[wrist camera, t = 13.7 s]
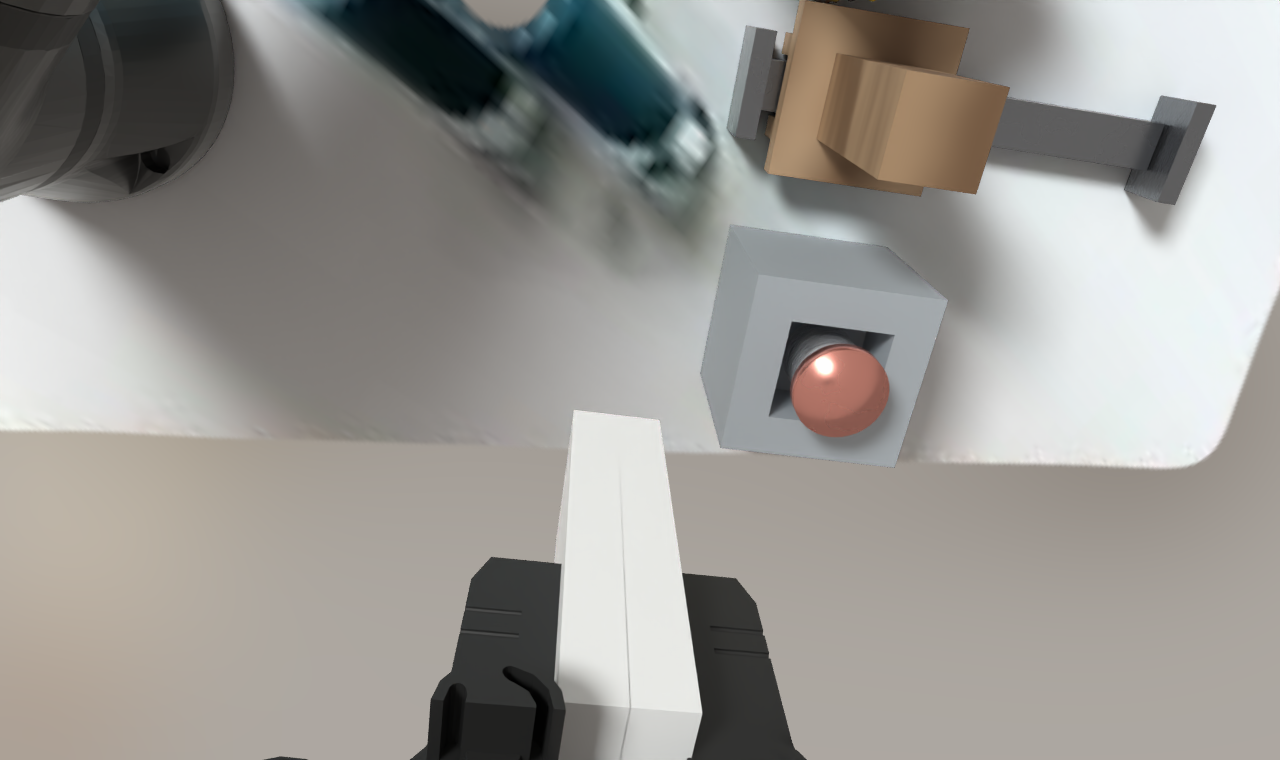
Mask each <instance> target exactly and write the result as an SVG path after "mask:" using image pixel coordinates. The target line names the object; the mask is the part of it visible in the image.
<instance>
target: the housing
mask: <svg viewBox="0 0 1280 760" xmlns="http://www.w3.org/2000/svg"><path fill="white" fill-rule="evenodd" d="M947 303H948V300H947V299H946V298H945V297H944V296H943V295H941V294H940V293H939V292H938V291H937V290H936V289H935V288H933V287H932V286H931V285H930V284H929V283H928V282H927V281H925V280H924V279H923V278H922V277H921V276H920V275H919V274H917V273H916V272H915V271H914V270H913V269H912V268H911V267H909V266H908V265H907V264H906V263H905V262H904V261H903V260H901V259H900V258H899V257H898V256H897V255H896V254H895V253H893V252H892V251H891V250H890V249H889V248H888V247H882V246H875V245H868V244H861V243H854V242H847V241H840V240H833V239H826V238H819V237H812V236H805V235H798V234H791V233H784V232H777V231H770V230H763V229H756V228H749V227H742V226H735V225H730V229H729V234H728V239H727V244H726V249H725V254H724V259H723V264H722V269H721V274H720V279H719V284H718V289H717V293H716V298H715V303H714V308H713V313H712V318H711V323H710V328H709V333H708V338H707V343H706V348H705V353H704V358H703V363H702V368H701V373H700V374H701V377H702V381H703V385H704V388H705V392H706V396H707V400H708V403H709V407H710V411H711V414H712V418H713V422H714V426H715V429H716V433H717V437H718V440H719V444H720V448H726V449H735V450H744V451H752V452H761V453H770V454H778V455H787V456H796V457H805V458H813V459H822V460H831V461H840V462H848V463H857V464H866V465H874V466H884V467H892V468H895V465H896V462H897V459H898V456H899V452H900V449H901V446H902V443H903V440H904V437H905V434H906V431H907V428H908V424H909V421H910V418H911V415H912V412H913V409H914V406H915V403H916V399H917V396H918V393H919V390H920V387H921V384H922V381H923V378H924V374H925V371H926V368H927V365H928V362H929V359H930V356H931V353H932V350H933V346H934V343H935V340H936V337H937V334H938V331H939V328H940V325H941V321H942V318H943V315H944V312H945V309H946V306H947ZM806 323H808V324H816V325H823V326H831V327H838V328H842V329H843V330H844V331H845V332H846V333H847V334H848V336H849V337H850V339H851V340H852V341H853V343H854V344H855V345H856V346H859V347H862V348H864V349H866V350H867V351H869V352H870V353H871V354H872V355H873V356H874V357H875V358H876V359H877V360H878V362H879V363H880V364H881V366H882V367H883V368H884V370H885V372H886V374H887V377H888V380H889V397H888V401H887V404H886V406H885V408H884V410H883V412H882V413H881V415H880V416H879V417H878V418H877V419H876V421H874V422H873V423H872V424H871V425H870V426H868V427H867V428H866V429H864V430H862V431H860V432H858V433H856V434H853V435H849V436H844V437H827V436H823V435H820V434H817V433H815V432H813V431H811V430H810V429H808V428H807V427H806V426H805V425H804V424H803V423H802V422H801V421H800V419H799V417H798V416H797V413H796V411H795V409H794V407H793V405H792V402H791V397H790V386H791V382H790V380H789V378H788V376H787V374H786V372H785V370H784V367H783V364H782V359H783V355H784V351H785V347H786V343H787V339H788V337H789V336H790V334H791V333H792V332H793V331H794V330H796V329H797V328H798V327H800V326H802V325H804V324H806Z"/></svg>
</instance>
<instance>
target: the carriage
mask: <svg viewBox="0 0 1280 760" xmlns="http://www.w3.org/2000/svg"><path fill="white" fill-rule="evenodd" d="M969 29H970V28H964V27H958V26H953V25H947V24H941V23H935V22H929V21H924V20H918V19H912V18H906V17H901V16H895V15H889V14H883V13H878V12H872V11H866V10H860V9H854V8H849V7H843V6H837V5H831V4H826V3H820V2H814V1H808V0H800V1H799V6H798V11H797V16H796V20H795V25H794V30H793V33H787V32H786V34H785V39H784V44H783V49H782V54H785V55H788V58H787V63H786V68H785V72H784V77H783V82H782V86H781V91H780V96H779V101H778V105H777V110H776V115H775V116H773V115H769V116H768V121H767V125H766V130H765V135H766V136H767V137H768V138H769V139H770V143H769V148H768V153H767V157H766V162H765V167H764V170H765V171H766V172H767V173H768V174H774V175H781V176H787V177H794V178H801V179H807V180H814V181H821V182H827V183H834V184H841V185H847V186H854V187H861V188H867V189H874V190H881V191H887V192H894V193H901V194H907V195H914V196H921V194H922V191H923V187H930V188H937V189H944V190H950V191H957V192H963V193H970V194H976V193H977V190H978V186H979V183H980V180H981V177H982V174H983V171H984V168H985V164H986V161H987V158H988V155H989V152H990V149H991V146H992V142H993V139H994V136H995V133H996V130H997V127H998V123H999V120H1000V117H1001V114H1002V111H1003V108H1004V105H1005V101H1006V98H1007V95H1008V92H1009V89H1010V87H1006V86H1002V85H997V84H993V83H988V82H984V81H979V80H975V79H971V78H966V77H962V76H957V75H956V74H957V70H958V67H959V63H960V60H961V57H962V53H963V50H964V46H965V43H966V39H967V36H968V33H969Z"/></svg>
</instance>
